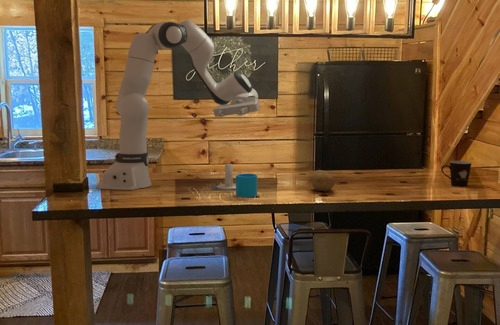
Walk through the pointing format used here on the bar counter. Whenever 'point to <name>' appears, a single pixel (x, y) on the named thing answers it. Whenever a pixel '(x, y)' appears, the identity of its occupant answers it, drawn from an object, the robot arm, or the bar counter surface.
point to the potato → (322, 180)
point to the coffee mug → (459, 173)
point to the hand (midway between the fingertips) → (230, 113)
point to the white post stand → (228, 179)
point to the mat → (214, 188)
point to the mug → (246, 185)
